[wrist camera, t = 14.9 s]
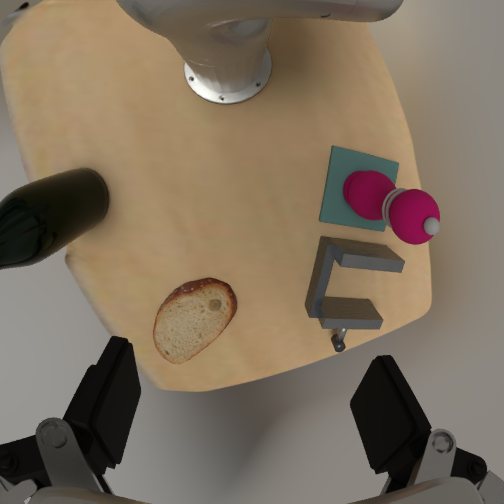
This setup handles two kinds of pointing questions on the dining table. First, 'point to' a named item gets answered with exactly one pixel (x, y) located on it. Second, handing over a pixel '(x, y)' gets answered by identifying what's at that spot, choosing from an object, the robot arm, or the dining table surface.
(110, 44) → the dining table surface
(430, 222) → the pepper mill
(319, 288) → the grey c-clamp
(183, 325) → the bread slice
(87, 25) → the dining table surface
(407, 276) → the dining table surface
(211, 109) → the dining table surface
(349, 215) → the mat
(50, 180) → the dark green wine bottle
